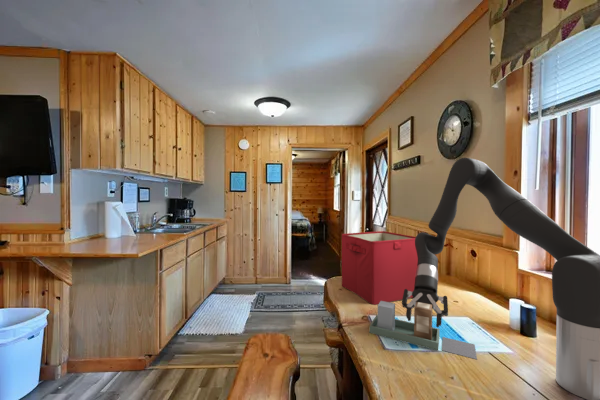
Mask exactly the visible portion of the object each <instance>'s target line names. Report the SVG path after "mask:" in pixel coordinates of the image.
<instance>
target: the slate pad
mask: <svg viewBox="0 0 600 400" xmlns="http://www.w3.org/2000/svg"><path fill="white" fill-rule="evenodd" d="M441 348H442V349H441V351H443V352H447V353H450V354H453V355H457V356H462V357H465V358H470V359H472V360H476V361H477V360H478V356H477V351H476V344H474V343H470V342H466V341H462V340H458V339H453V338H448V337H445V336H442V343H441Z"/></svg>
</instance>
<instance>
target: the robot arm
mask: <svg viewBox="0 0 600 400" xmlns="http://www.w3.org/2000/svg"><path fill="white" fill-rule="evenodd" d="M446 180H447V181H446V183H445V185H444V188H443V191H442V195H441V197H440V200H439V203H438V205H437V207H436V210H435V212H434V213H433V215H432V216H431V219H430V221H429V222H428V228H429V229H430V230H431V231H432V232H434V233H435V234H436V236H435V235H432V234H429V233H426V232H418V234H416V236H415V237H416V238H415V248H416V252H417V256H418V263H417V269H416V275H415V285H414V290H413V292H411V291H408V290H407V289H405V290H404V294H403V299H402V300H401V305H402V308H405V309H406V313H405V316H406V319H407V320H408V321H407V322H411V321H412V310H413V309H414V307H415V304H416V302H421V303H427V304H432V311H434V312H435V313H436V321H435V325H436V327H435V328H440V327H441V326H442V318H443V316H445V317H448V316H449V306H448V305H449V304H448V303H449V302H448V296H447V295H443V296H440V295H438V287H439V286H438V285H439V273H438V270H439V269H438V268H439V267H438V266H439V259H438V256H437V255H439V254H440V253H442V251H443V249H444V246H445V243H446V241H445V240H446V237H447V233H448V231H449V229H450V227H451V225H452V223H453V222H454V220H455V218H456V215H457V210H458V199H459V196H460V195H461V192H462V191H463V189H464V187H466V185H467V186H471V187H473V188H474V189H475V190H477V191H478V192H480V193H481V194H482V195H483V196H484V197H485V198H486V199H487V201H488V203H489V205H490V208H491V210H492V211H493V214H494V215H495V216H496V218H498V220H500V221H501V222H502V223H503V224H504V225H505V226H506V227H507V228H508V229H510V230H511V231H512V232H513V233H515V234H516V235H518V236H519V237H522V238H524V240H527V241H529V242H531V243H532V244H534V245H536V246H538V247H540V248H541V249H543V250H544V251H546V252H547V253H548V254H549V255H550V256H552V258H554V259H555V260H556V261H555V262H554V264H553V266H552V270H551V288H552V300H553V303H554V306H555V308H556V332H555V333H556V336H555V338H556V339H555V341H556V343H555V344H556V345H555V349H556V350H555V381H556V382H557V384H558V385H559V386H560V387H561V388H563V389H564V390H566V391H567V392H568V393H571V394H573V395H576V396H577V397H580V398H582V399H585V400H600V254H599V253H597V252H596V251H594V250H592V249H591V248H590V247H588V246H586V245H585V244H583V243H582V242H581V241H579V240H578V239H576V238H575V237H574V236H572V235H571V234H570V233H568V232H567V231H566V230H565V229H564V228H563V227H561V226H560V225H559V224H558V222H555V221H554V220H553V219H552V218H550V217H549V216H548V215H547V214H546V213H544V211H542V210H541V209H540V208H539V207H538V206H537V205H535V204H534V203H533V202H531V201H530V200H529V199H528V198H526V197H525V196H523V194H521V193H520V192H519V191H517V190H515V189H514V188H513V187H511V186H510V185H508V184H507V183H506V182H504V181H503V180H502V179H501V178H500V177H499V176H498V175H497V174H496V173H495V172H494V171H493V169H491V168H490V166H489V165H488V164H486V163H485V162H484V161H482V160H478V159H475V158H472V157H471V158H470V157H461V158H459V159H457V160H456V161H455V162H454V163H453V165H452V167H451V169H450V171H449V173H448V176H447V179H446ZM411 295H412V296H413V298H411V300H410V302H408V300H409V299H408V297H410V296H411ZM439 301H440V303H441V304H443V305H442V306H443V309H440V307H439V305H438V304H437V303H438V302H439Z"/></svg>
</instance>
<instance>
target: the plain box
mask: <svg viewBox="0 0 600 400" xmlns="http://www.w3.org/2000/svg"><path fill="white" fill-rule="evenodd" d="M377 315H378V322H377V327H379V328H383V329H387V330H391V331H394V329H395V319H396V302H395V303H394V302H385V301H380V303H379V304H377Z"/></svg>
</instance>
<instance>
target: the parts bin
mask: <svg viewBox="0 0 600 400" xmlns="http://www.w3.org/2000/svg"><path fill="white" fill-rule="evenodd" d="M377 322H378V314H375V317H373V320H372V321H371V322H370V324H369V329H368V330H369V334H374V335H377V336H381V337H384V338H388V339H392V340H396V341H401V342H403V343H408V344H411V345H415V346H418V347H423V348H427V349H430V350H434V351H439V344H440V330H441V329H440V328H439V327H433V326H432V340H428V339H424V338H420V337H416V336H414V322H411V321H405V320H401V319H396V318H395V329H394V331H391V330H387V329H383V328H379V327H377Z"/></svg>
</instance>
